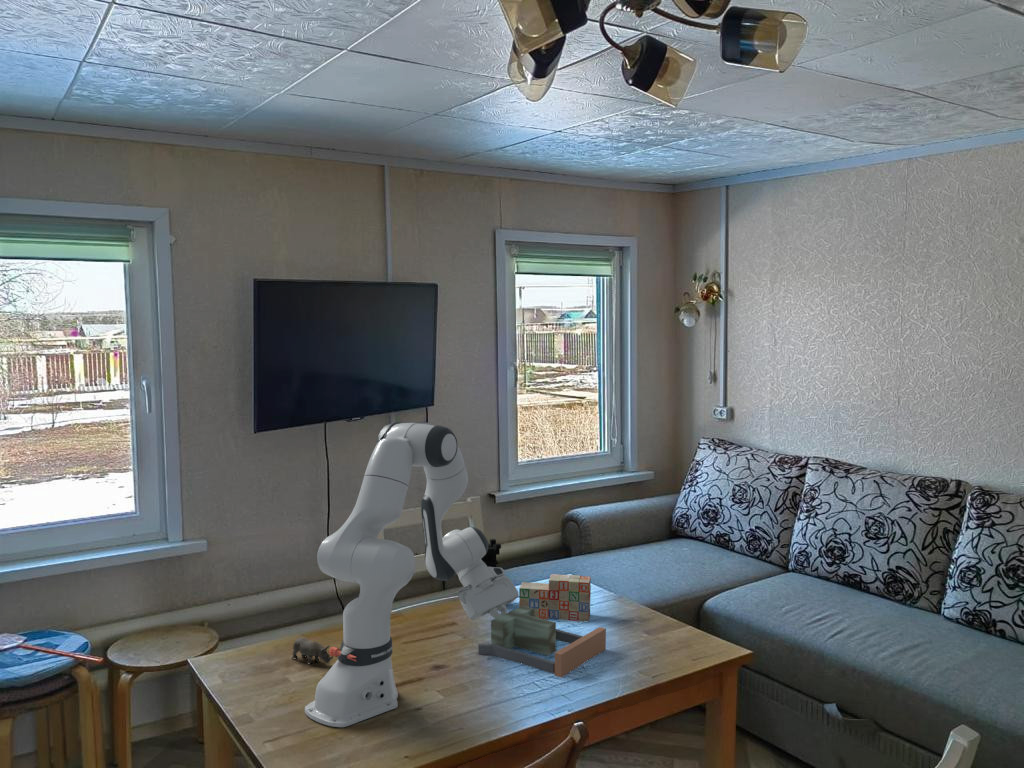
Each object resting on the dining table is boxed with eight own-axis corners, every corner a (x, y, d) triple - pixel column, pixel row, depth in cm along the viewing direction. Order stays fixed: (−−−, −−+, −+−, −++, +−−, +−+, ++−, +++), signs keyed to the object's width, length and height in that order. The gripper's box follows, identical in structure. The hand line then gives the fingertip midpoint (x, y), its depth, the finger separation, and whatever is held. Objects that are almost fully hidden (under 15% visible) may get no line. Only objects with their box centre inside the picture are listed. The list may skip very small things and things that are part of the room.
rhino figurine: (326, 670, 213) (326, 648, 213) (289, 659, 221) (288, 637, 220) (337, 665, 217) (337, 643, 216) (300, 654, 224) (299, 632, 224)
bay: (558, 679, 208) (558, 656, 207) (476, 653, 224) (476, 632, 224) (607, 648, 227) (607, 627, 227) (529, 627, 243) (529, 607, 243)
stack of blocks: (518, 617, 251) (518, 578, 250) (522, 610, 257) (522, 572, 257) (589, 622, 248) (589, 582, 247) (590, 614, 254) (590, 575, 253)
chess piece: (471, 601, 266) (471, 540, 264) (495, 599, 268) (495, 538, 266) (478, 609, 258) (477, 547, 256) (502, 607, 260) (502, 544, 259)
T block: (535, 662, 218) (535, 632, 217) (491, 649, 227) (491, 620, 226) (566, 644, 230) (566, 616, 229) (523, 632, 239) (523, 605, 238)
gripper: (461, 584, 228) (489, 626, 223) (505, 566, 245) (532, 605, 239) (449, 596, 231) (476, 639, 226) (494, 578, 248) (520, 617, 243)
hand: (505, 621), depth 233 cm, fingers closed, pressing on T block
